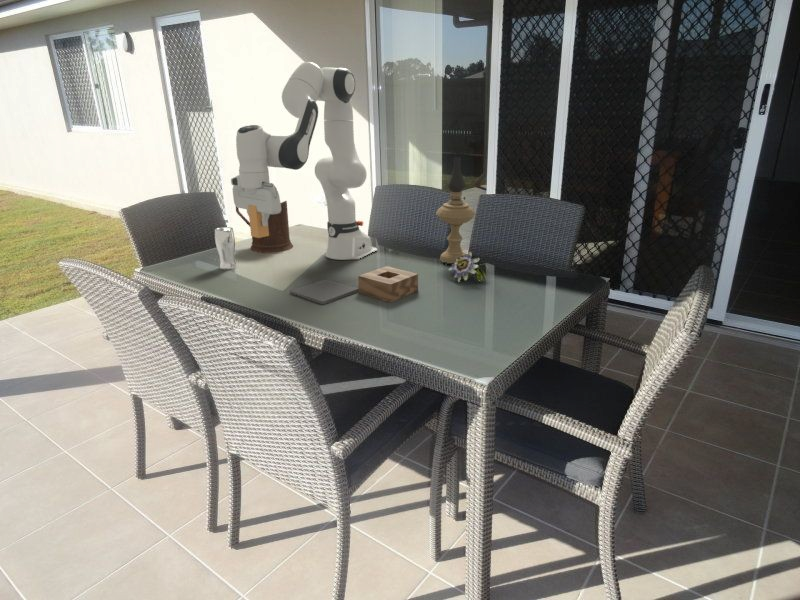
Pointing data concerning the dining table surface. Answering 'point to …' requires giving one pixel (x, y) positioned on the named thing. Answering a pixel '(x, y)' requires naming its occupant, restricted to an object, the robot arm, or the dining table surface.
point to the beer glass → (225, 247)
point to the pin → (256, 223)
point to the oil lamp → (455, 214)
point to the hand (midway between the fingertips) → (259, 224)
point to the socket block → (388, 283)
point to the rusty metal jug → (273, 233)
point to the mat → (324, 291)
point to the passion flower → (467, 267)
